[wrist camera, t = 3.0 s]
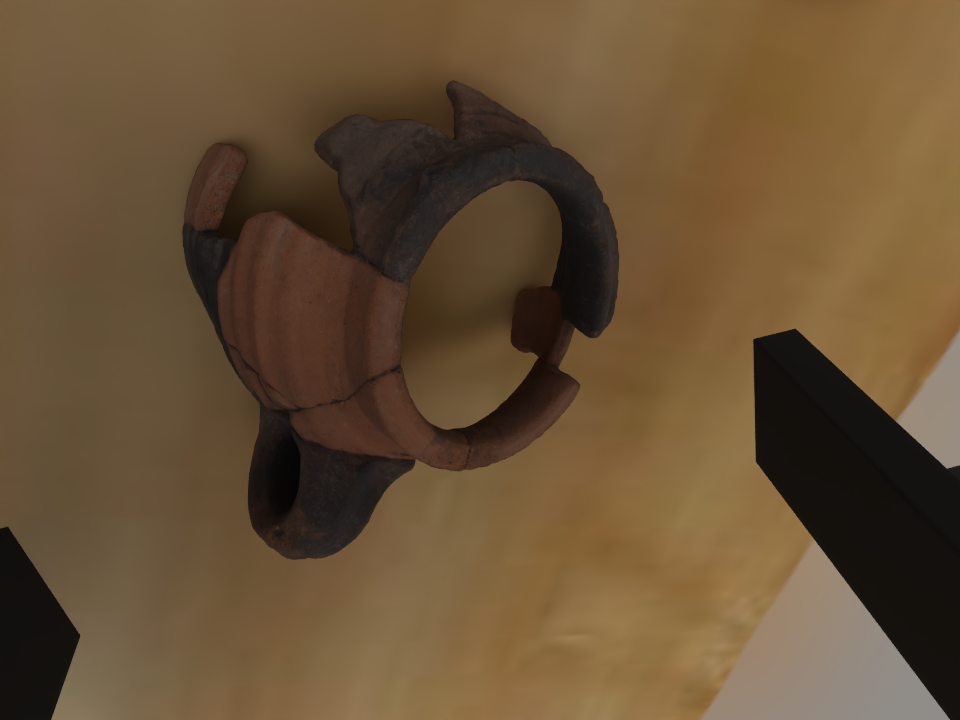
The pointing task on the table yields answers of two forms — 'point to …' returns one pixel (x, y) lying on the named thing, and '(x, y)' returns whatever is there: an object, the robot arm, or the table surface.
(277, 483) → the brown piece
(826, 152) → the table surface
